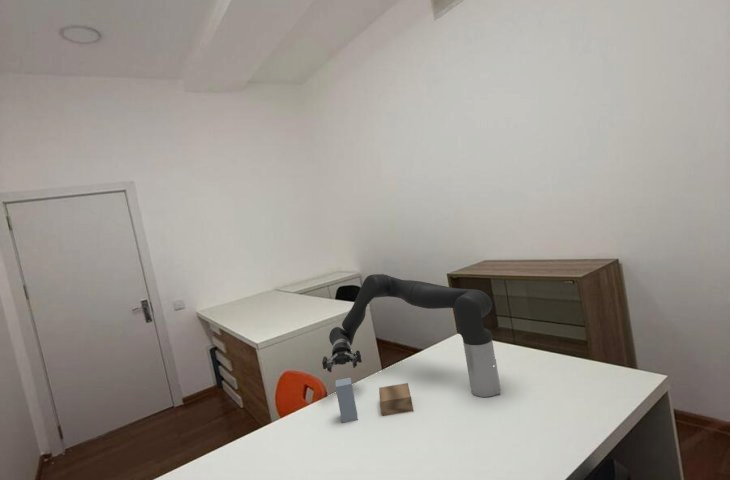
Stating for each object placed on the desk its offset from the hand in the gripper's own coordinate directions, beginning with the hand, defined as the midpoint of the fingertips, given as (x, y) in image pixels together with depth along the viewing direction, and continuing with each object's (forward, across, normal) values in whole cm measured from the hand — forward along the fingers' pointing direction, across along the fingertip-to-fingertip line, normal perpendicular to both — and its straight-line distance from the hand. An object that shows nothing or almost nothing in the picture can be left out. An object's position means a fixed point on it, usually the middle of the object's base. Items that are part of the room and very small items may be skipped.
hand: (342, 367), depth 138 cm
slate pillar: (+12, 0, +12) cm, 17 cm away
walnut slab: (+10, +16, +12) cm, 23 cm away
